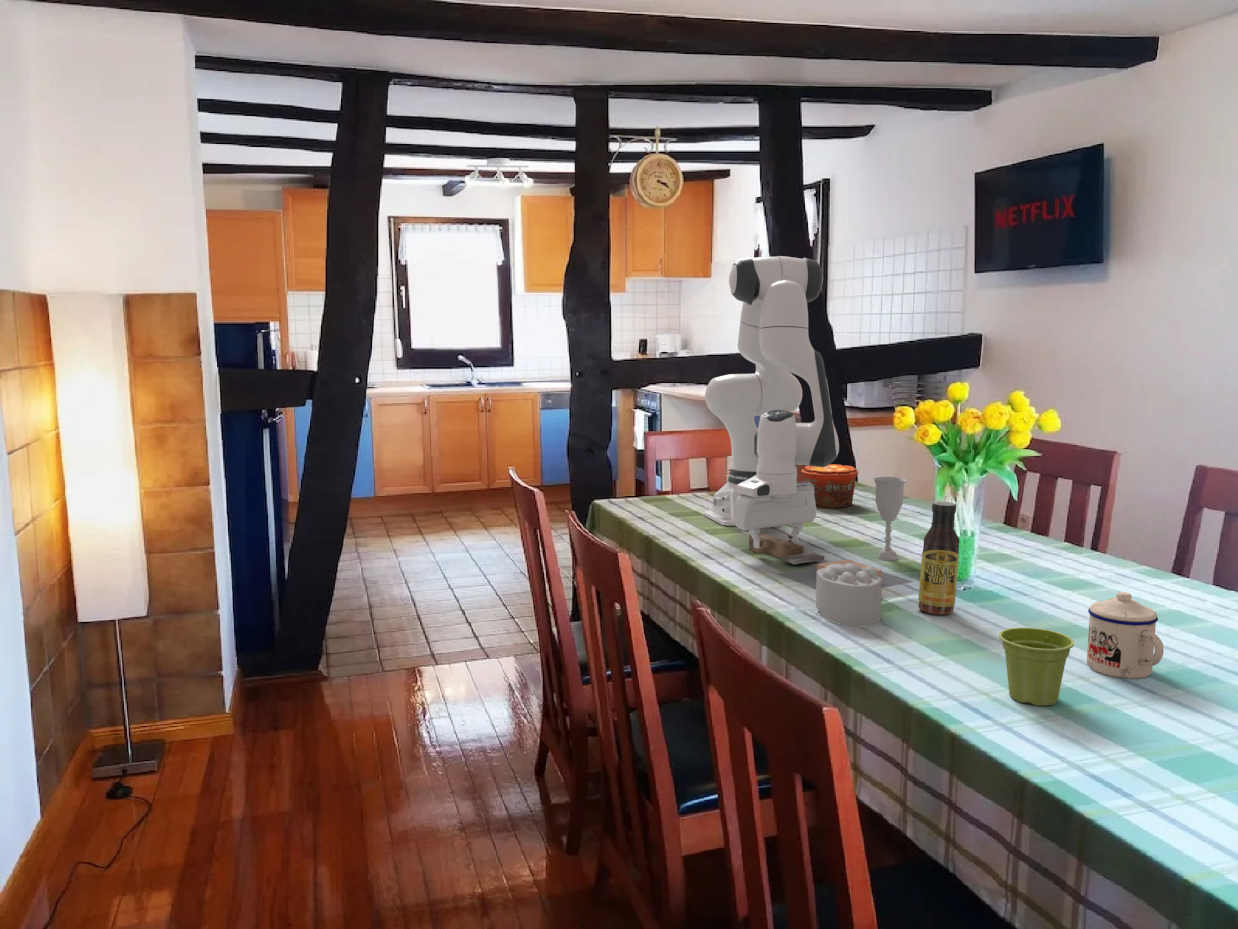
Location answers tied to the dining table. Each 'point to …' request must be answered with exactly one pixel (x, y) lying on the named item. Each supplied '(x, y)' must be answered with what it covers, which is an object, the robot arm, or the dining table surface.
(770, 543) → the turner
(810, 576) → the mat
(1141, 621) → the teacup with lid
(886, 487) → the chalice
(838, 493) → the food container
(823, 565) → the tile
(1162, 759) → the dining table surface
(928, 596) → the sauce bottle
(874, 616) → the lumpy-topped squat cylinder
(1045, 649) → the plant pot
